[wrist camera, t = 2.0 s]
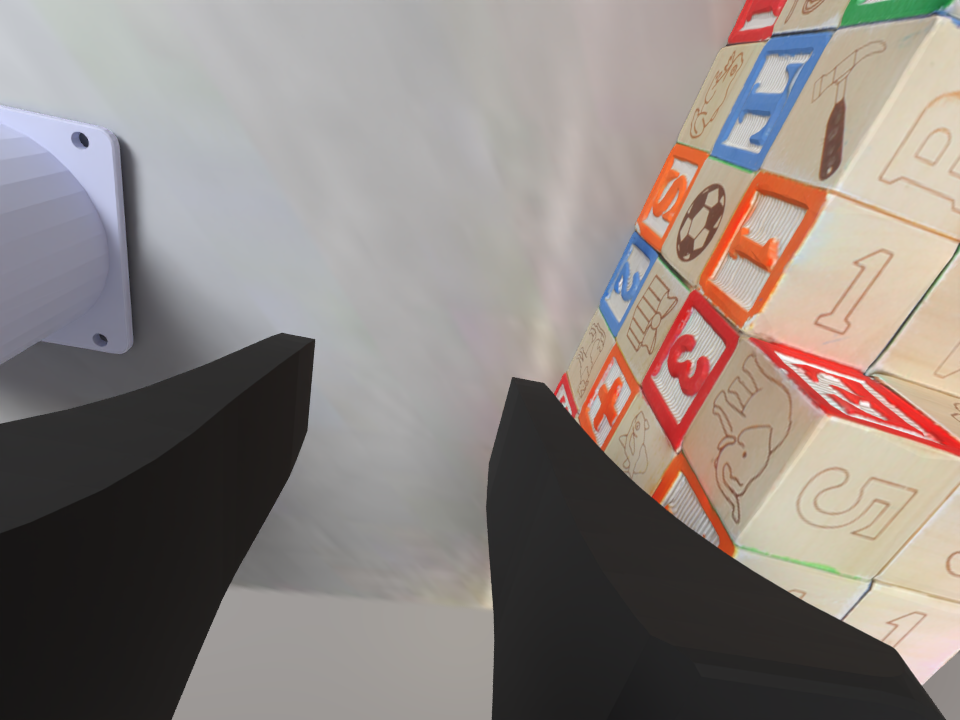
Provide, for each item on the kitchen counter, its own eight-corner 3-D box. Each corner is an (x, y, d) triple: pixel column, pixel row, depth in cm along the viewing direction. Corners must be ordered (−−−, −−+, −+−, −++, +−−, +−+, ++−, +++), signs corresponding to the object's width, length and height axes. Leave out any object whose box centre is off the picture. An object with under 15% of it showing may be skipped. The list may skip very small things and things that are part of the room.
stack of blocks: (772, -77, 16) (1452, -431, 5) (949, 9, 17) (1841, -122, 6) (506, 486, 25) (536, 809, 14) (633, 520, 26) (754, 847, 15)
